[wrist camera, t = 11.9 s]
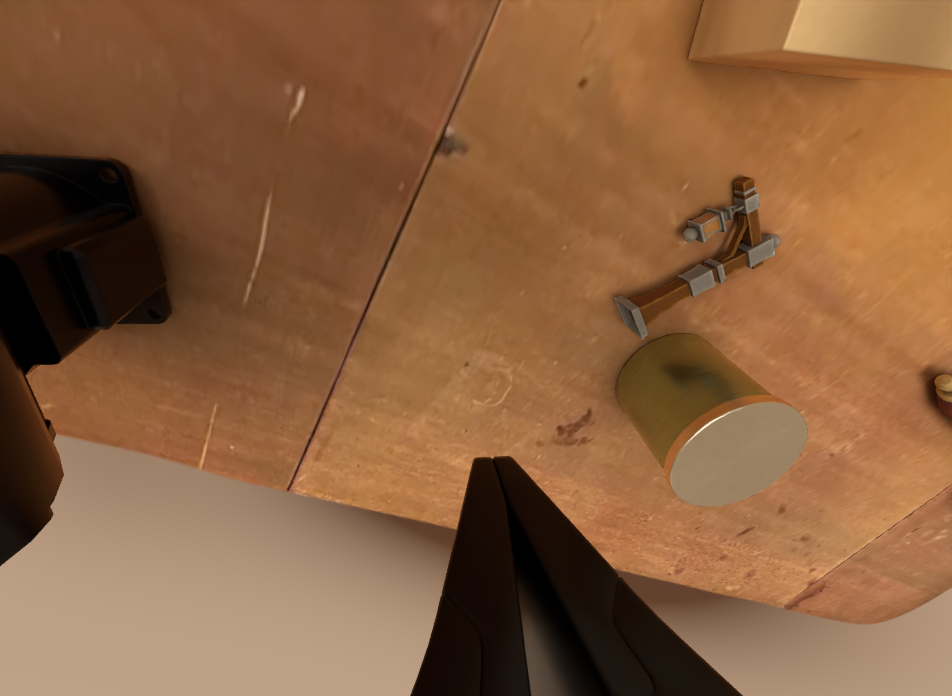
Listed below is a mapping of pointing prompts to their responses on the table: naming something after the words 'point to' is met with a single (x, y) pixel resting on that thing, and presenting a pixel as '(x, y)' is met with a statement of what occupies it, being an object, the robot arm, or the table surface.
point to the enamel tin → (708, 421)
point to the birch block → (829, 37)
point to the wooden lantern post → (704, 277)
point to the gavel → (944, 393)
